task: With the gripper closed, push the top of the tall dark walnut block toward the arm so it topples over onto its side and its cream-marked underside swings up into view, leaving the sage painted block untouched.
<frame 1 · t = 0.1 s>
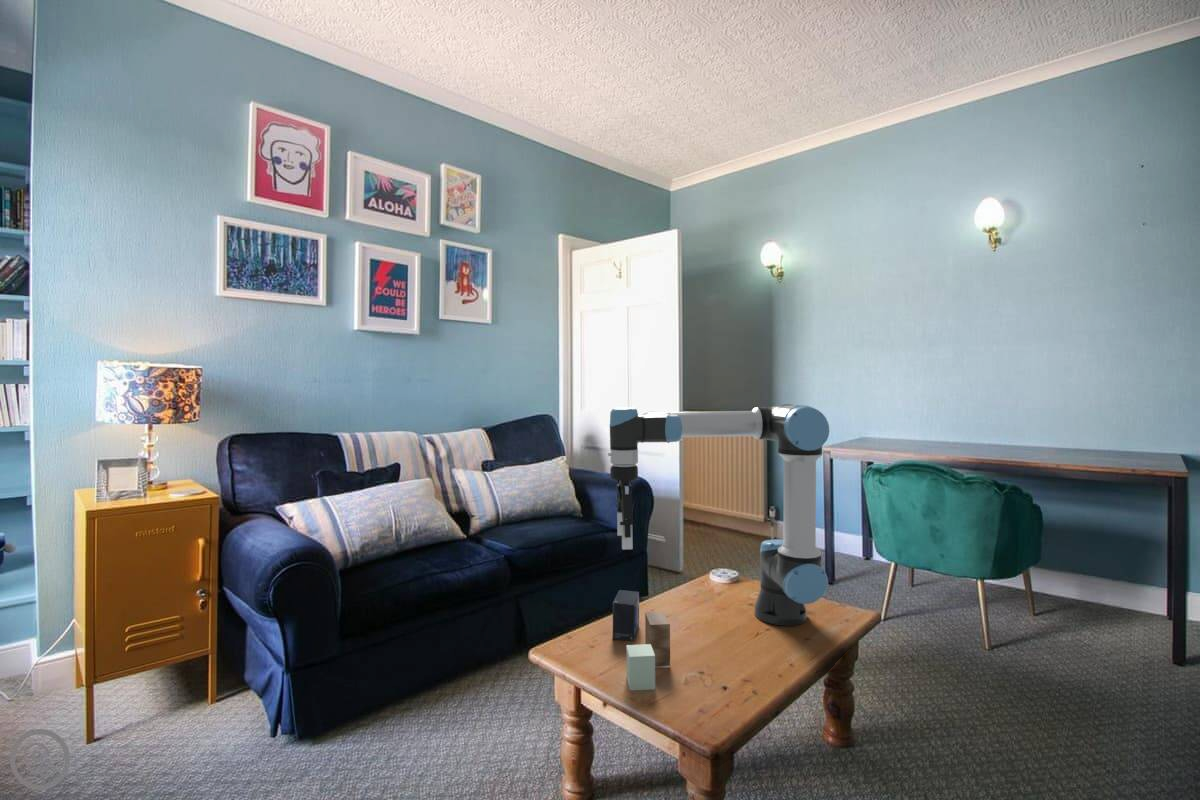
hand: (624, 541, 159), 28 cm above the table, fingers open, 13 cm apart
walnut block: (657, 660, 150), on the table
sage block: (640, 683, 139), on the table
small box: (626, 633, 167), on the table
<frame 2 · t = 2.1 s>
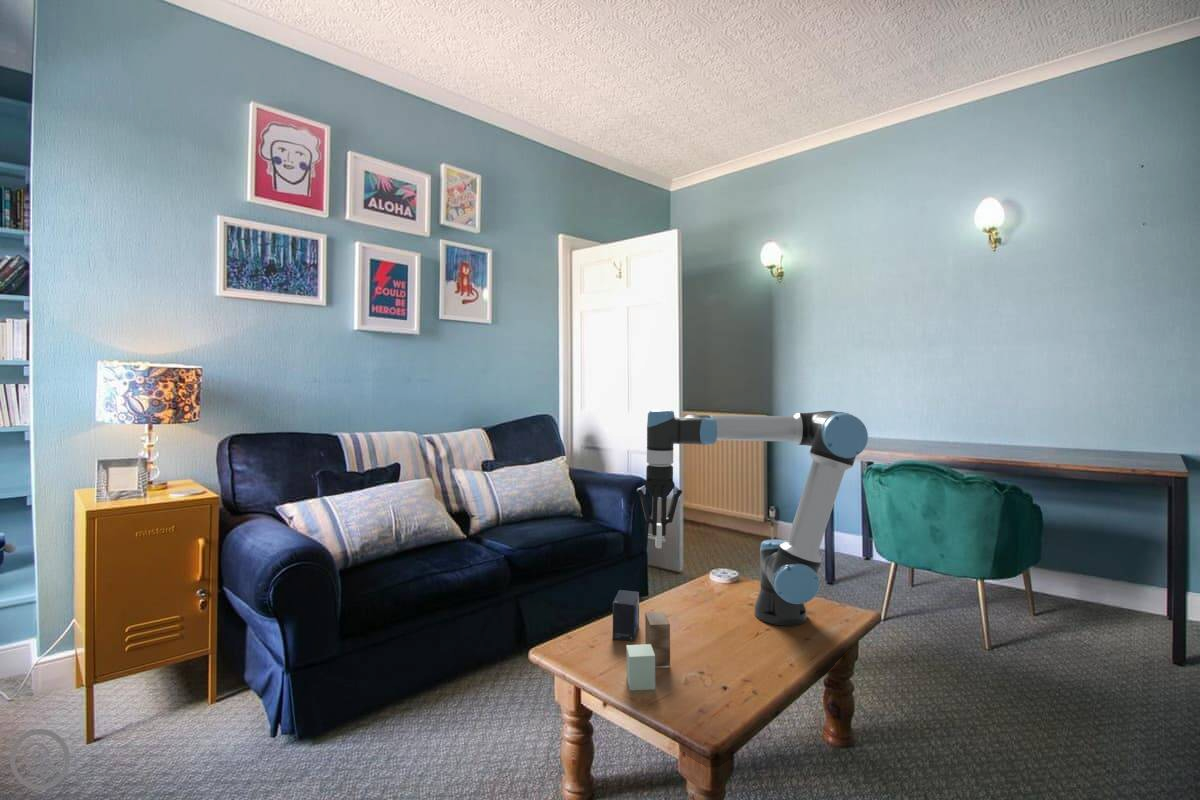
hand: (658, 546, 166), 25 cm above the table, fingers closed
nothing on the table moved.
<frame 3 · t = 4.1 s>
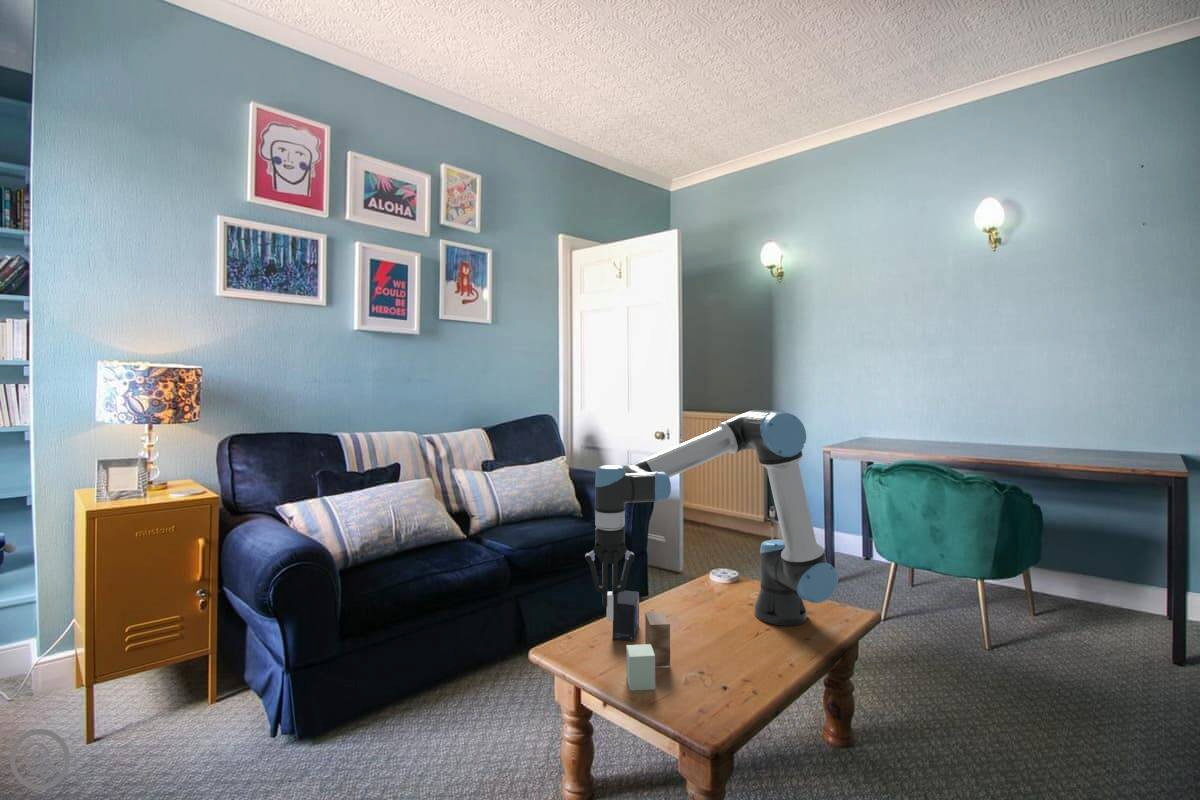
hand: (609, 618, 149), 11 cm above the table, fingers closed
nothing on the table moved.
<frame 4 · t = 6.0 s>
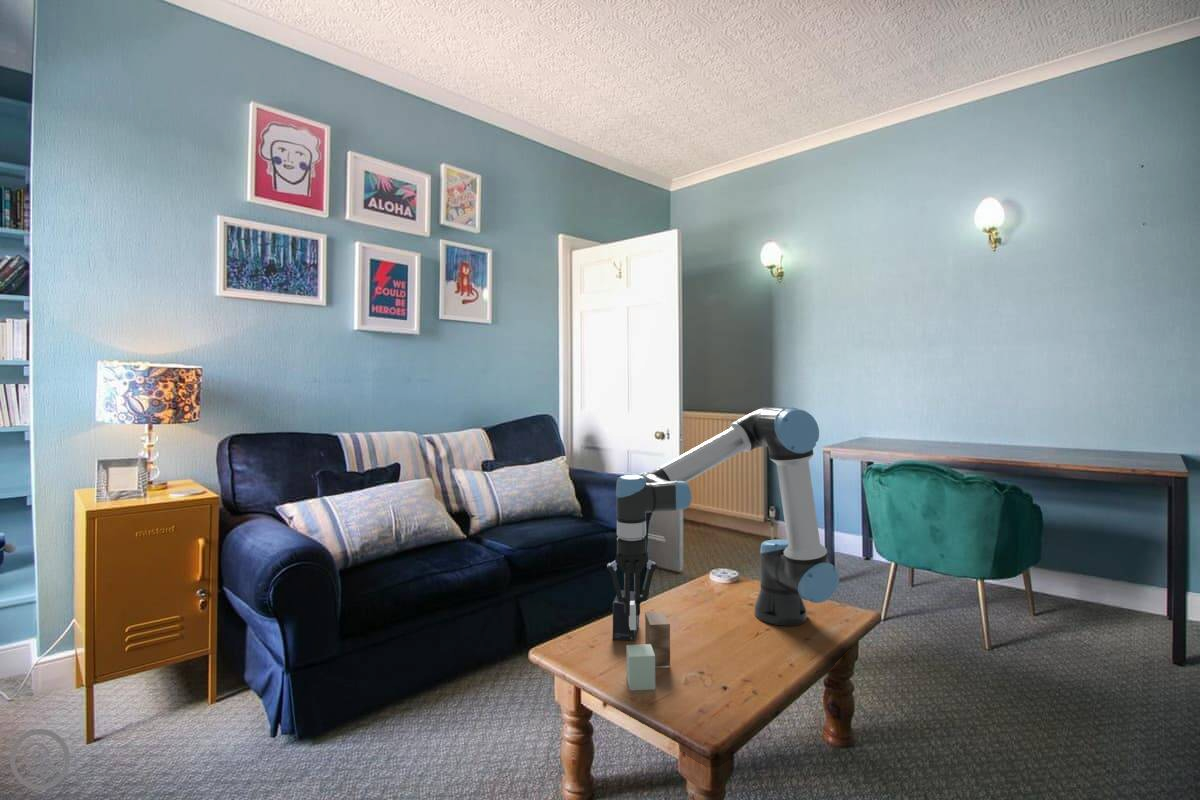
hand: (632, 627, 149), 9 cm above the table, fingers closed
nothing on the table moved.
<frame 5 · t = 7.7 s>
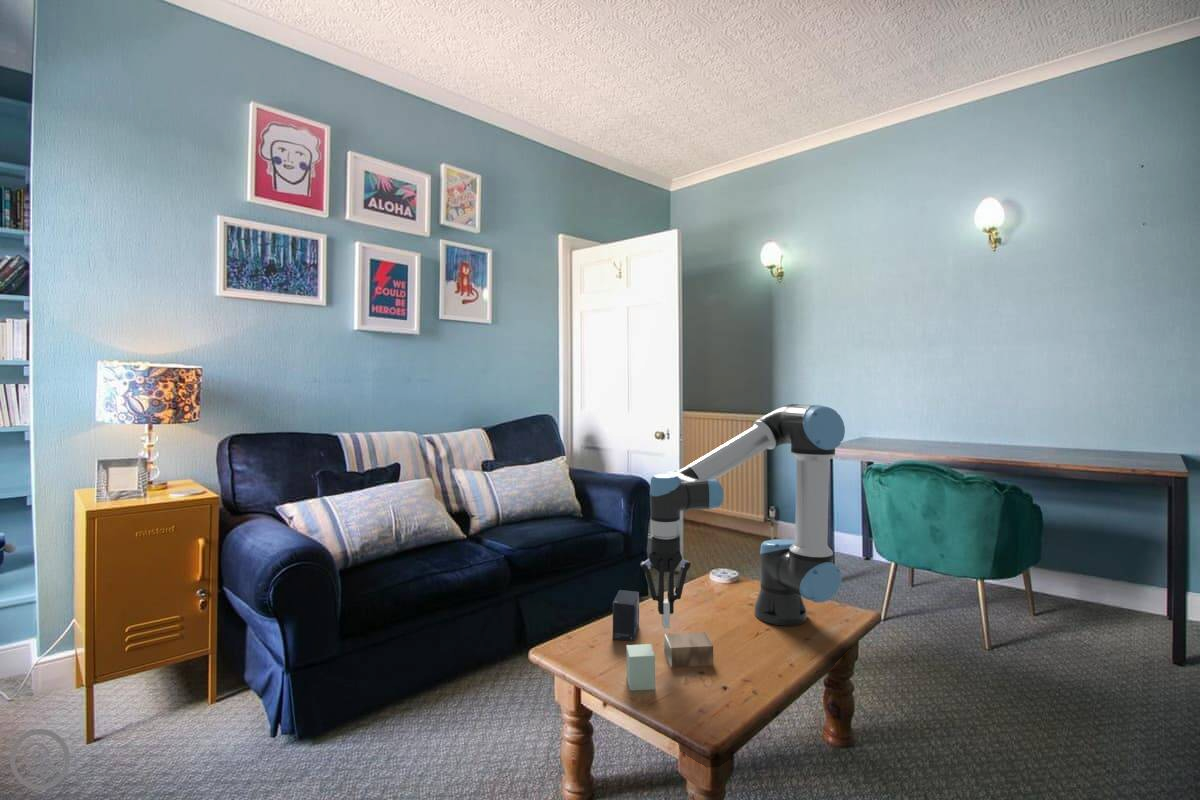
hand: (665, 625, 150), 9 cm above the table, fingers closed
walnut block: (667, 650, 150), point 2 cm above the table, tilted 90°
everything else where it was.
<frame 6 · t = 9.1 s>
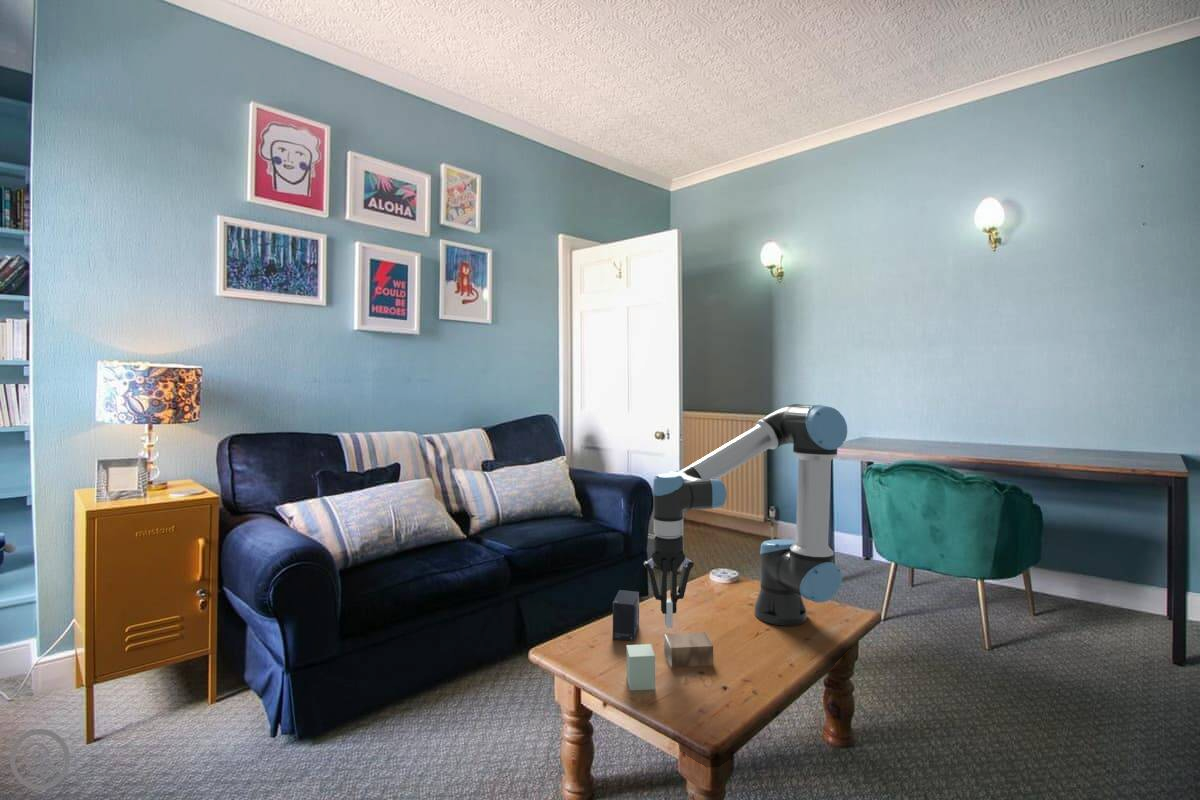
hand: (668, 625, 150), 9 cm above the table, fingers closed
nothing on the table moved.
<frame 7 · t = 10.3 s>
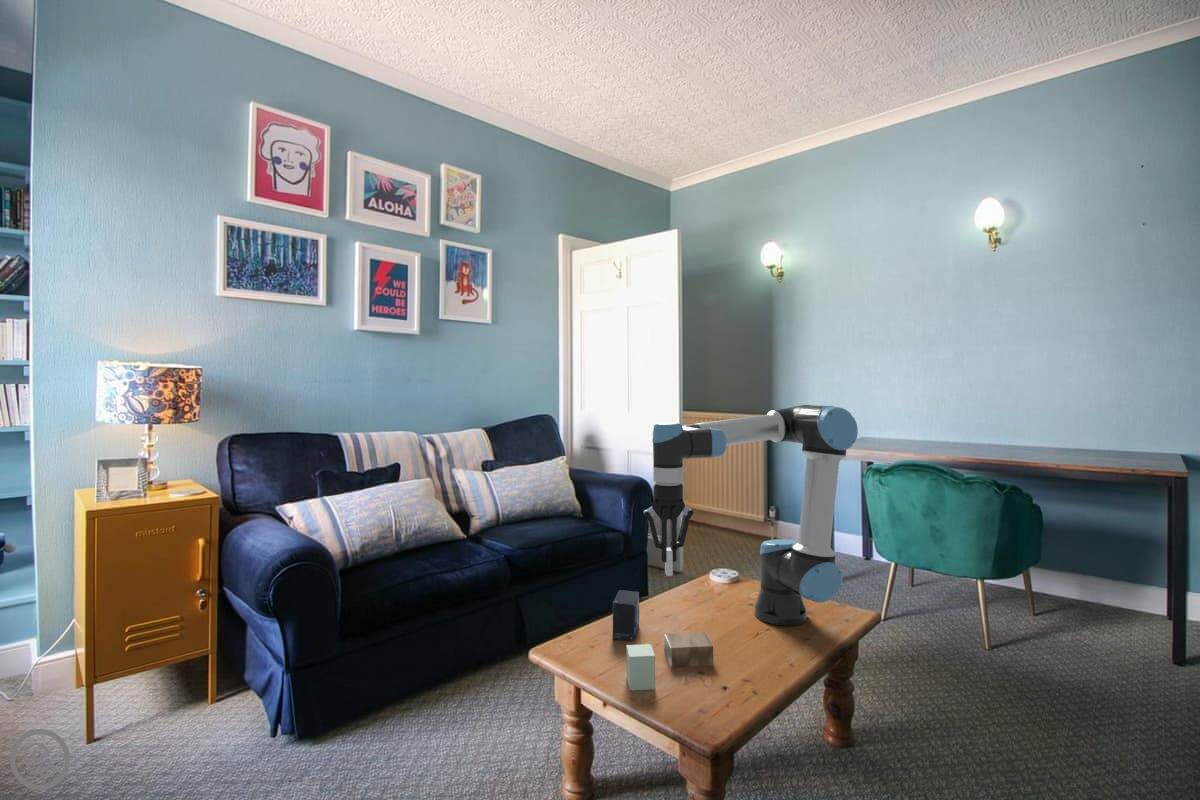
hand: (668, 574, 150), 22 cm above the table, fingers closed
nothing on the table moved.
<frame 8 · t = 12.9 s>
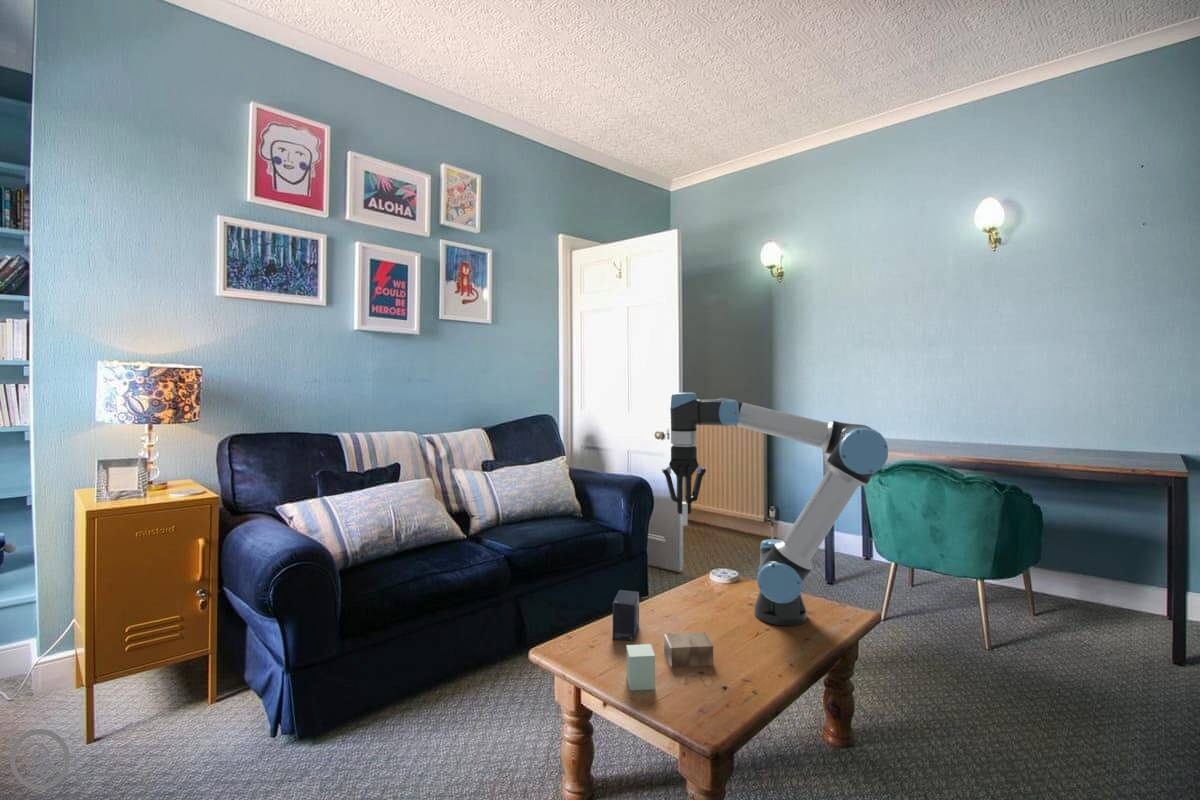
hand: (684, 524, 172), 29 cm above the table, fingers closed
nothing on the table moved.
at the end: walnut block tilted 90°; walnut block inside the target area (4.0 cm from its centre), point 2.4 cm above the table; sage block tilted 0° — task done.
